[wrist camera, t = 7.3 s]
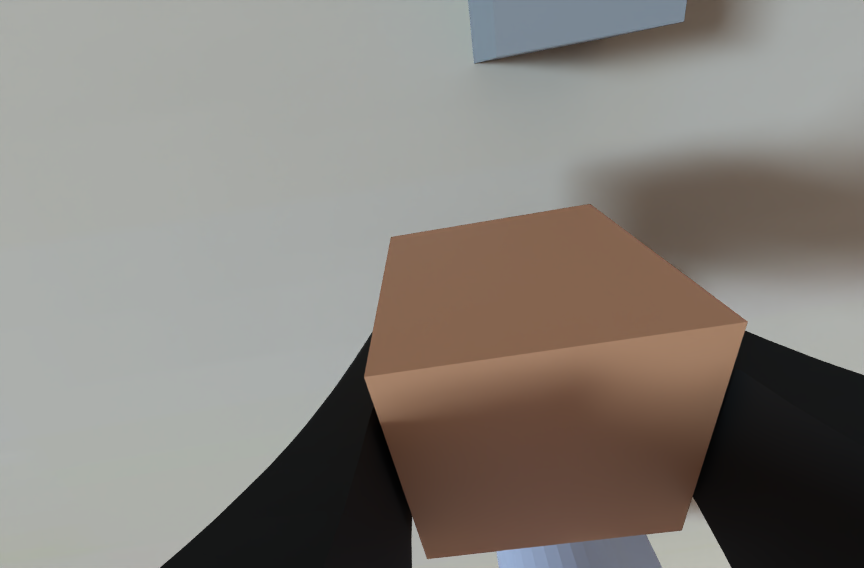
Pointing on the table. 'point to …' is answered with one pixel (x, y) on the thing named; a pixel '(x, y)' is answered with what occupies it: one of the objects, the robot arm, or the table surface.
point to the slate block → (560, 23)
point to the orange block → (545, 381)
